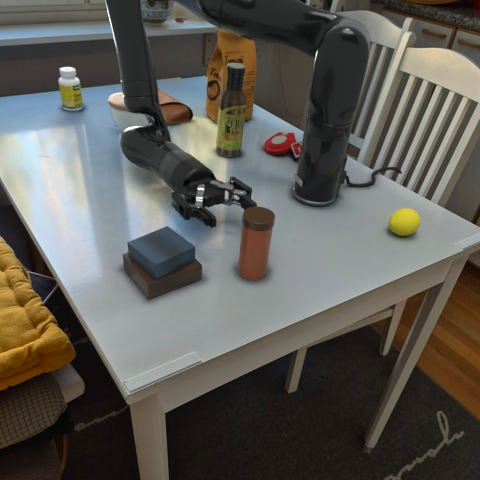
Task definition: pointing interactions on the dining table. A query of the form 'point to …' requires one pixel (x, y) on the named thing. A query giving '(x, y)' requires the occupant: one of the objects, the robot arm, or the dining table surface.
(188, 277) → the block stack
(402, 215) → the lemon
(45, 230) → the dining table surface
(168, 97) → the sunglasses case
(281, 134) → the tracker holder
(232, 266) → the dining table surface
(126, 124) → the trinket box
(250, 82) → the coffee package
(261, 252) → the terracotta canister
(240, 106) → the sauce bottle
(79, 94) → the supplement bottle
